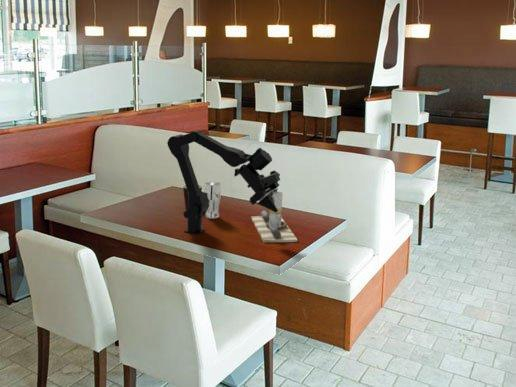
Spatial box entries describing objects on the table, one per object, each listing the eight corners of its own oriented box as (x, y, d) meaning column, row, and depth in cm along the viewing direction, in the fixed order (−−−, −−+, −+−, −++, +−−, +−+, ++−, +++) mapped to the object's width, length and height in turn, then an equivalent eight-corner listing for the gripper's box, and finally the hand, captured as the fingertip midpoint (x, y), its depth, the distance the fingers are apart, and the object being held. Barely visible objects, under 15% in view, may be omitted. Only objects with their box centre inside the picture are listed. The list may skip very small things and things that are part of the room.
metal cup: (281, 228, 217) (282, 194, 214) (268, 227, 217) (270, 194, 214) (281, 224, 222) (282, 191, 218) (268, 224, 222) (270, 191, 218)
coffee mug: (192, 204, 271) (192, 183, 268) (205, 207, 265) (206, 186, 263) (174, 208, 262) (174, 187, 259) (187, 212, 257) (187, 190, 254)
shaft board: (297, 241, 223) (297, 232, 222) (264, 242, 221) (264, 233, 220) (280, 217, 254) (280, 209, 253) (251, 218, 252) (251, 209, 251)
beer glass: (201, 217, 250) (201, 183, 247) (209, 213, 256) (210, 180, 253) (214, 220, 247) (215, 186, 243) (223, 216, 253) (223, 183, 249)
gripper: (259, 169, 206) (286, 203, 205) (275, 160, 223) (301, 191, 223) (237, 188, 211) (265, 221, 210) (255, 178, 228) (280, 208, 227)
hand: (279, 209), depth 217 cm, fingers closed on metal cup, 5 cm apart
